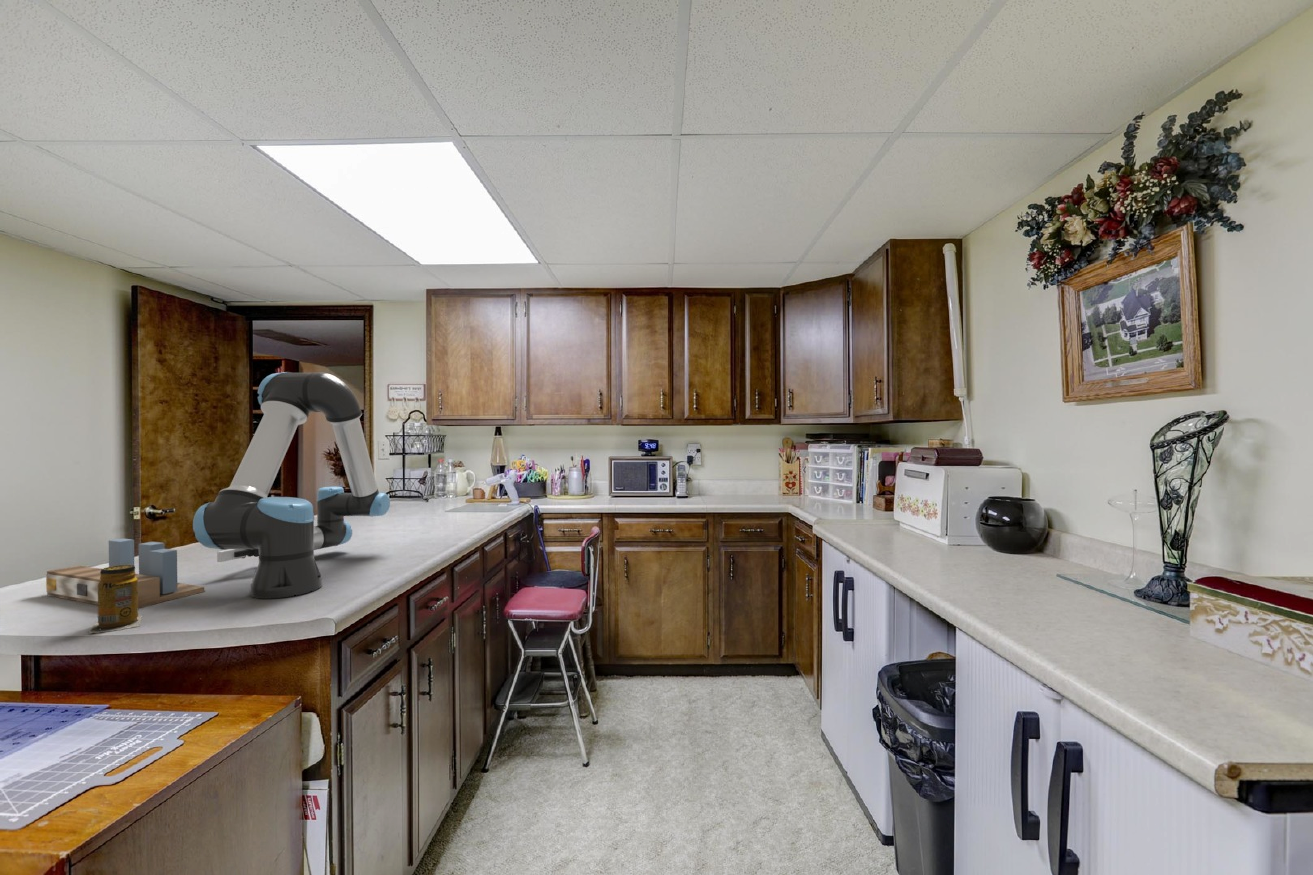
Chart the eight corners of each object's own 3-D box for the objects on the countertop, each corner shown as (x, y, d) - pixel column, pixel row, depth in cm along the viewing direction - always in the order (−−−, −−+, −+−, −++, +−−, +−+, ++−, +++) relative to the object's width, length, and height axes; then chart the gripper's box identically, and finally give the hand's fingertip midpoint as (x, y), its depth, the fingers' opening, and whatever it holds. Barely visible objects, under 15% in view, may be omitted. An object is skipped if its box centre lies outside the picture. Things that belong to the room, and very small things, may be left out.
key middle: (165, 581, 143) (164, 542, 143) (151, 584, 140) (150, 545, 140) (153, 579, 145) (152, 541, 145) (139, 582, 142) (138, 543, 142)
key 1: (134, 576, 148) (134, 539, 147) (120, 579, 145) (119, 541, 145) (123, 575, 149) (122, 538, 149) (109, 577, 146) (108, 540, 146)
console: (204, 591, 139) (204, 567, 139) (123, 611, 124) (123, 584, 124) (125, 579, 151) (125, 557, 150) (42, 596, 135) (42, 571, 135)
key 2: (177, 590, 134) (177, 550, 134) (162, 594, 132) (162, 552, 132) (164, 588, 136) (164, 548, 136) (149, 592, 133) (149, 551, 133)
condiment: (142, 616, 121) (141, 561, 121) (138, 626, 114) (138, 569, 114) (95, 623, 116) (94, 566, 116) (88, 635, 110) (87, 575, 109)
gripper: (317, 554, 169) (235, 572, 147) (287, 550, 174) (203, 568, 152) (317, 529, 169) (234, 544, 147) (287, 527, 173) (203, 541, 151)
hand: (219, 556), depth 149 cm, fingers closed
